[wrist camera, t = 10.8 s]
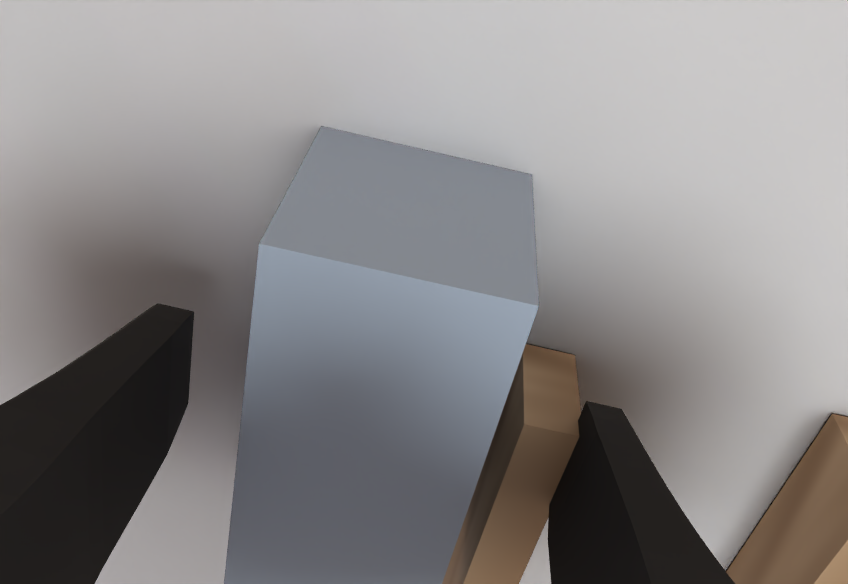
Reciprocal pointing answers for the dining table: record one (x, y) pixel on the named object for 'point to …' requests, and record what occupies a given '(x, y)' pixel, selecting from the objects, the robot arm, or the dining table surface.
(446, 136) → the dining table surface
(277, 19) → the dining table surface
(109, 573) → the dining table surface
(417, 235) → the slate stick
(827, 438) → the rack
